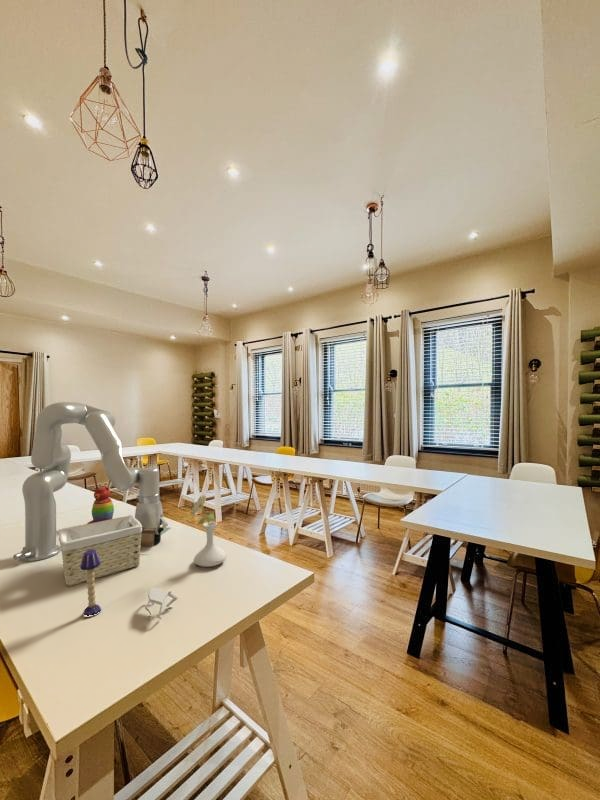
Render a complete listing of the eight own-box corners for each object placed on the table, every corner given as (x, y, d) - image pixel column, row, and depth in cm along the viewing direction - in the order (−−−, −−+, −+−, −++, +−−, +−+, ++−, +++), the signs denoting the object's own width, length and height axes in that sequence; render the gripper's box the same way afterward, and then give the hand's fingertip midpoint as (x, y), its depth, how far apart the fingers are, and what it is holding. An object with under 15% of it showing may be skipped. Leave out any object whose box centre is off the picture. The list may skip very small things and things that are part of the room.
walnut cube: (152, 549, 133) (152, 533, 134) (138, 548, 134) (138, 533, 134) (160, 543, 139) (160, 528, 140) (146, 542, 140) (146, 528, 140)
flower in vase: (212, 553, 129) (211, 487, 130) (233, 560, 122) (232, 491, 123) (183, 566, 118) (182, 494, 119) (204, 575, 112) (203, 499, 112)
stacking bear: (84, 526, 161) (84, 489, 161) (102, 519, 170) (102, 484, 171) (102, 528, 158) (102, 490, 158) (119, 521, 167) (119, 485, 168)
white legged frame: (184, 610, 93) (184, 592, 93) (156, 626, 86) (156, 607, 86) (159, 596, 100) (159, 579, 100) (131, 610, 93) (131, 592, 93)
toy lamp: (78, 620, 89) (78, 556, 89) (82, 610, 93) (82, 549, 94) (99, 615, 91) (99, 552, 91) (102, 606, 95) (102, 546, 96)
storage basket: (61, 590, 104) (61, 542, 104) (57, 571, 116) (57, 528, 117) (144, 567, 119) (143, 524, 119) (133, 552, 131) (132, 513, 132)
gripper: (123, 500, 134) (123, 546, 134) (164, 501, 133) (164, 547, 132) (135, 495, 142) (135, 539, 142) (174, 496, 140) (174, 540, 140)
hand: (149, 542), depth 137 cm, fingers closed on walnut cube, 6 cm apart
